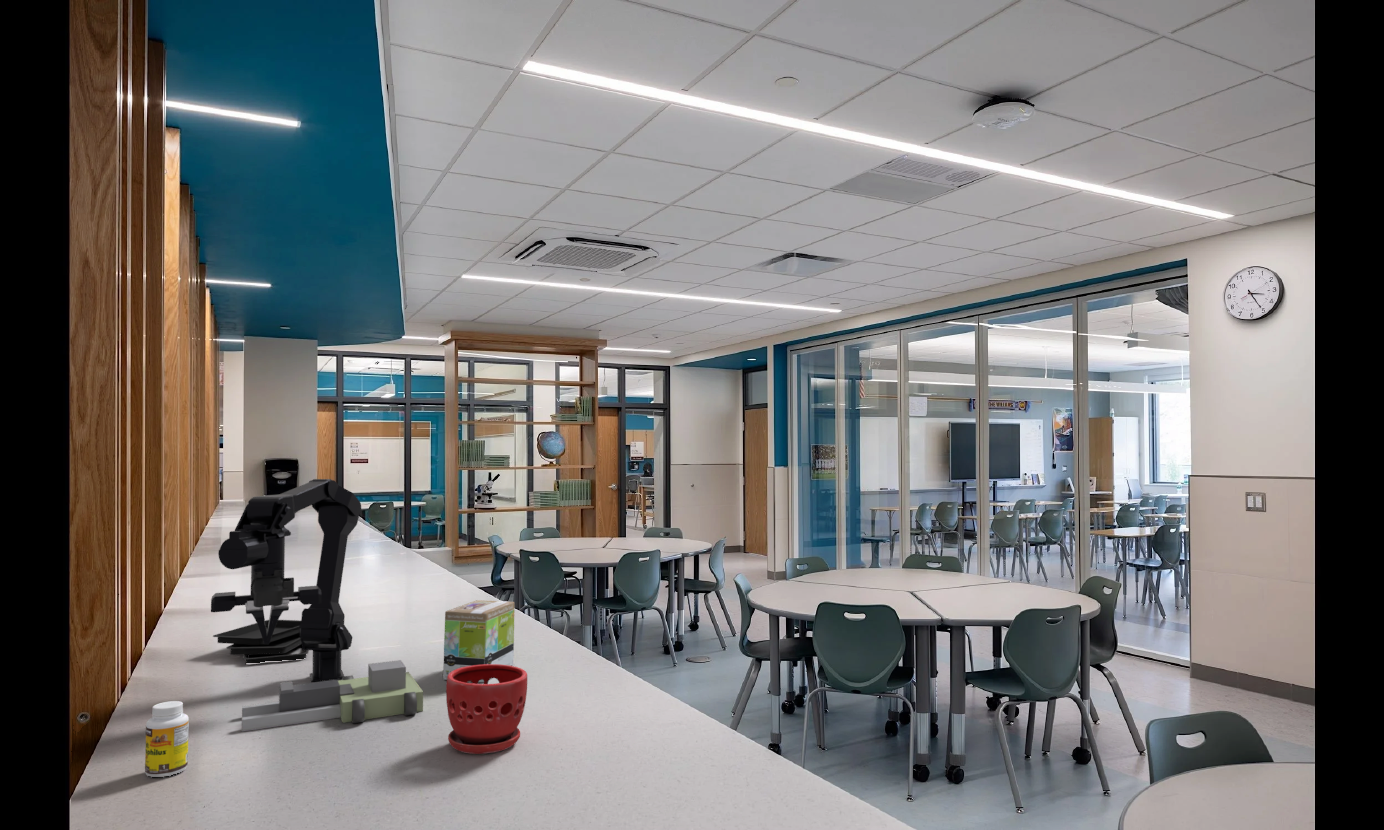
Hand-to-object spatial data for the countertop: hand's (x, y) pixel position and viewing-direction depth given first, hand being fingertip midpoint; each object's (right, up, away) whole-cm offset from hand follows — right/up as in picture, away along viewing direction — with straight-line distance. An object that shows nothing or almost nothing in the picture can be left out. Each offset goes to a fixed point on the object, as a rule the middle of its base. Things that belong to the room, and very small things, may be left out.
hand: (266, 643), depth 161 cm
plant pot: (+47, -11, -22) cm, 53 cm away
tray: (-22, -14, +44) cm, 52 cm away
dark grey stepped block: (+10, -12, -5) cm, 17 cm away
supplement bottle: (+1, -11, -33) cm, 34 cm away
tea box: (+35, -13, +24) cm, 44 cm away
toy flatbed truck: (+14, -12, -3) cm, 19 cm away
